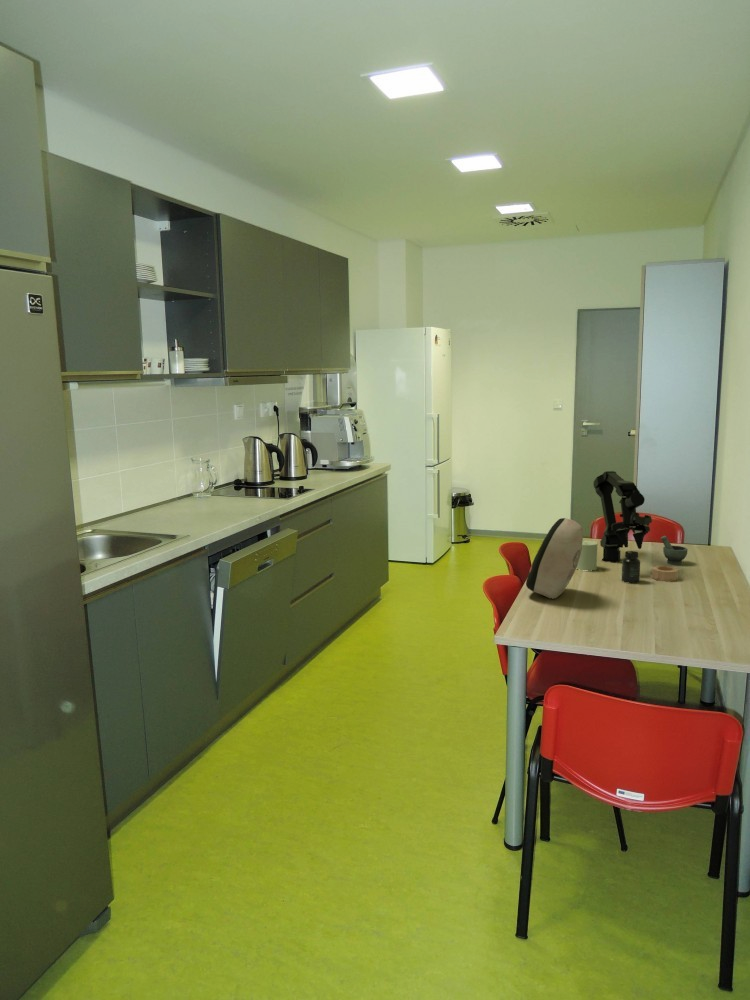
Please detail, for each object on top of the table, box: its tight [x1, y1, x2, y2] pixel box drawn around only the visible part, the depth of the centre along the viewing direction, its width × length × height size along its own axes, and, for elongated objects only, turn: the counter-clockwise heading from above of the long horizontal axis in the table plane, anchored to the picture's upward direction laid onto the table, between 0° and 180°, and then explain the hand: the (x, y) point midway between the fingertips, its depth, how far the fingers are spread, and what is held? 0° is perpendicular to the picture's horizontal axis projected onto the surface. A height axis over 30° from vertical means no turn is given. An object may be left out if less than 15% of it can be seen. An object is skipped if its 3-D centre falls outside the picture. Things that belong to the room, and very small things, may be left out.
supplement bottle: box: [621, 550, 641, 584], centre depth 290 cm, size 7×7×12 cm
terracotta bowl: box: [651, 565, 680, 582], centre depth 294 cm, size 10×10×4 cm
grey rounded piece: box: [525, 517, 584, 600], centre depth 272 cm, size 22×20×30 cm
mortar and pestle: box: [660, 535, 688, 566], centre depth 317 cm, size 11×9×12 cm
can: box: [576, 539, 599, 572], centre depth 310 cm, size 9×9×12 cm
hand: (633, 548), depth 300 cm, fingers open, 9 cm apart
